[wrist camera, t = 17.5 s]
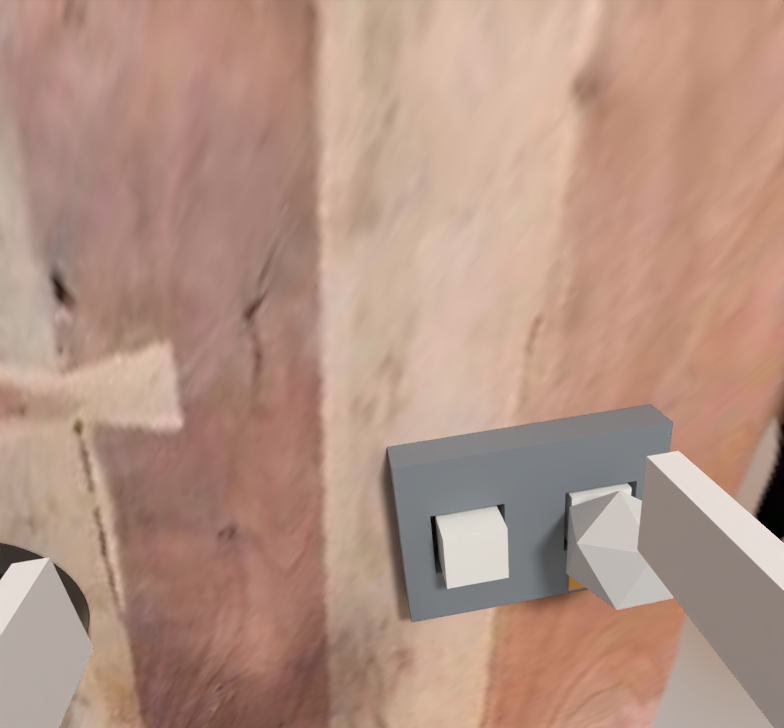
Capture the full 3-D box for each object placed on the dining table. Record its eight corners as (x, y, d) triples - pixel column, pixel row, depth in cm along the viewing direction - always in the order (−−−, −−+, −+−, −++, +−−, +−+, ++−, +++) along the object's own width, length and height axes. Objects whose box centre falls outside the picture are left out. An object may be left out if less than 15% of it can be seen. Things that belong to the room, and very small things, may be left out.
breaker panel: (406, 595, 49) (412, 624, 46) (387, 447, 42) (392, 470, 39) (635, 553, 50) (655, 578, 48) (650, 404, 44) (674, 423, 41)
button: (438, 559, 45) (447, 588, 42) (434, 512, 43) (442, 539, 40) (496, 549, 45) (508, 577, 42) (494, 501, 43) (507, 528, 40)
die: (541, 558, 46) (646, 647, 40) (531, 531, 39) (655, 635, 33) (600, 486, 47) (709, 563, 42) (600, 449, 40) (730, 535, 35)
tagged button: (555, 521, 48) (570, 546, 45) (555, 475, 46) (572, 498, 43) (608, 511, 48) (627, 536, 45) (611, 465, 46) (631, 488, 43)
